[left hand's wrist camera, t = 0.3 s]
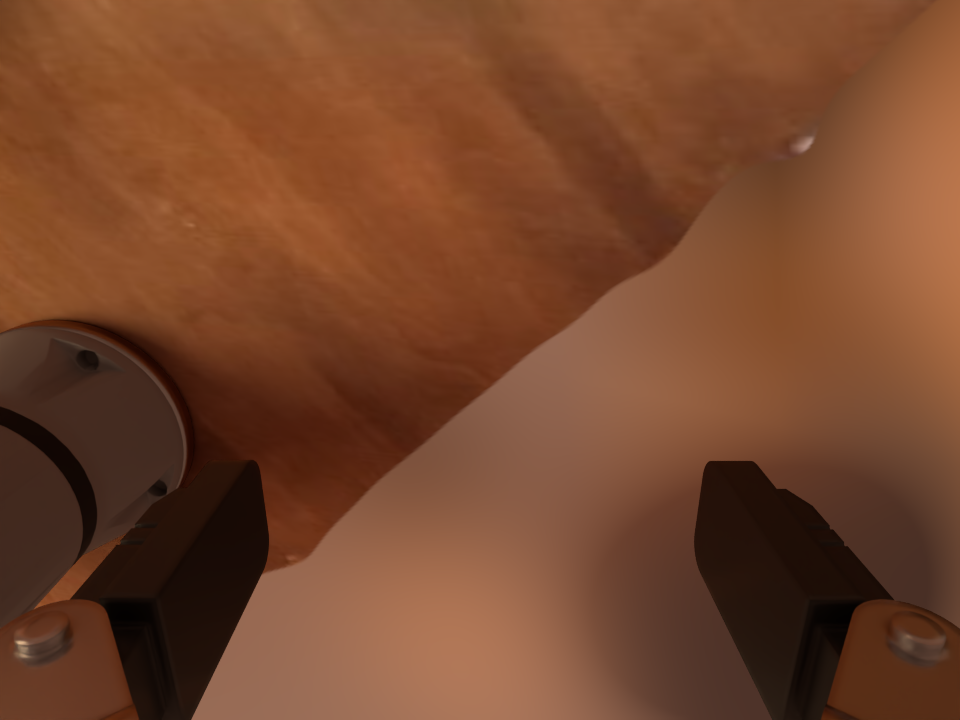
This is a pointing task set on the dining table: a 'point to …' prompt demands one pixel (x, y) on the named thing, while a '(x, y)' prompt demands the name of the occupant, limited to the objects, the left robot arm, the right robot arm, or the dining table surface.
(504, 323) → the dining table surface
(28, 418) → the right robot arm
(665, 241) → the dining table surface
